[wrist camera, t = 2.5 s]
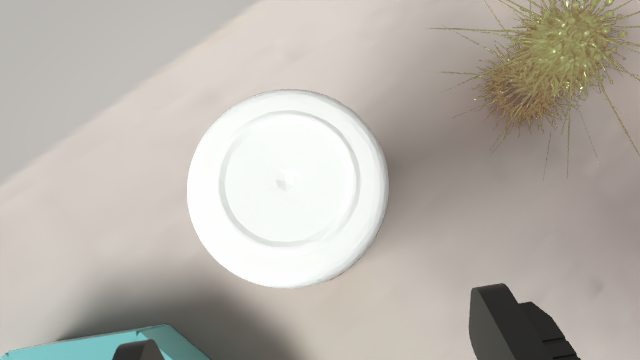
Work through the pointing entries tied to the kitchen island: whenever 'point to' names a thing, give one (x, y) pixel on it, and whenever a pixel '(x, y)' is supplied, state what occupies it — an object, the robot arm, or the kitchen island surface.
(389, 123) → the kitchen island surface
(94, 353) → the bowl
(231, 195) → the sprinkles bottle
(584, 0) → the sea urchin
